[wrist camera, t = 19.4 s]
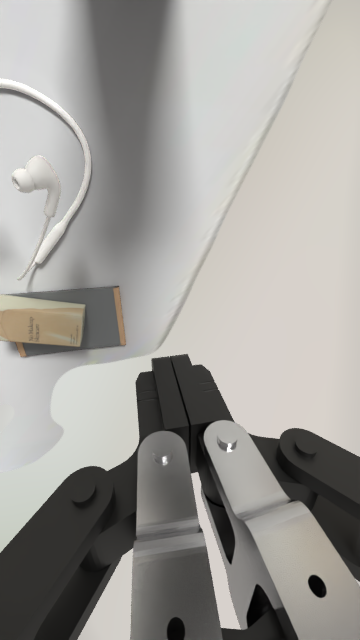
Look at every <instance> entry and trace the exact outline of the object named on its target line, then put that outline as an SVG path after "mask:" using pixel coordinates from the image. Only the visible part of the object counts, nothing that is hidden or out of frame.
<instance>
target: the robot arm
mask: <svg viewBox="0 0 360 640" xmlns="http://www.w3.org/2000/svg"><path fill="white" fill-rule="evenodd" d="M136 395H137V408H138V421H139V435H140V438H139V444H138V447H137V449H136V451H135V452H134V453H133V455H132V456H131V457H130V458H129V459H128V460H127V461H125V462H123V463H122V464H120V465H118V466H116V467H115V468H112V469H111V470H109V471H106V470H105V469H103V468H101V467H97V466H89V467H84V468H81V469H79V470H77V471H75V472H74V473H72V474H71V475H70V476H68V477H67V478H66V479H65V480H64V482H63V483H62V484H61V485H60V486H59V487H58V488H57V489H56V490H55V492H54V493H53V494H52V495H51V496H50V497H49V498H48V500H47V501H46V502H45V503H44V504H43V505H42V506H41V508H40V509H39V510H38V511H37V512H36V513H35V514H34V515H33V517H32V518H31V519H30V520H29V521H28V522H27V523H26V525H25V526H24V527H23V528H22V529H21V530H20V531H19V533H18V534H17V535H16V536H15V537H14V538H13V539H12V540H11V541H10V543H9V544H8V545H7V546H6V547H5V548H4V549H3V551H2V552H1V553H0V640H77V639H78V637H79V635H80V633H81V632H82V630H83V628H84V626H85V624H86V622H87V621H88V619H89V617H90V615H91V613H92V611H93V609H94V608H95V606H96V604H97V602H98V600H99V598H100V597H101V595H102V593H103V591H104V589H105V587H106V585H107V584H108V582H109V580H110V578H111V576H112V574H113V573H114V571H115V569H116V567H117V565H118V563H119V561H120V559H121V557H122V555H124V554H125V553H127V552H128V551H129V550H131V549H132V548H133V569H132V602H131V603H132V604H131V637H130V640H360V586H359V584H358V583H357V582H356V580H355V579H357V580H358V581H360V457H359V456H356V455H355V454H353V453H351V452H349V451H346V450H345V449H343V448H341V447H339V446H337V445H335V444H333V443H331V442H329V441H327V440H325V439H323V438H322V437H320V436H318V435H316V434H314V433H312V432H310V431H307V430H304V429H299V428H292V429H288V430H286V431H284V432H283V433H282V435H281V437H280V439H275V438H266V437H258V436H254V435H251V434H249V433H247V431H246V430H245V429H244V428H243V427H242V426H240V425H239V424H237V423H235V422H234V420H233V418H232V416H231V414H230V412H229V410H228V408H227V406H226V404H225V402H224V400H223V398H222V396H221V394H220V391H219V390H218V387H217V385H216V383H215V382H214V379H213V377H212V375H211V373H210V371H208V370H207V369H206V368H205V367H204V366H202V365H193V366H192V364H191V361H190V359H189V357H188V354H184V355H176V356H170V358H169V356H168V357H161V358H153V359H152V371H149V372H142V373H140V374H139V376H138V378H137V380H136ZM195 472H198V473H199V477H200V480H201V495H202V499H203V502H204V505H205V508H206V511H207V514H208V517H209V520H210V523H211V526H212V529H213V532H214V535H215V538H216V541H217V544H218V547H219V550H220V553H221V556H222V559H223V562H224V565H225V569H226V573H227V578H228V585H229V590H230V594H231V598H232V602H233V606H234V609H235V612H236V615H237V618H238V621H239V624H240V628H241V630H237V629H226V628H221V627H220V621H219V616H218V610H217V604H216V598H215V593H214V587H213V581H212V576H211V570H210V564H209V559H208V553H207V547H206V543H205V538H204V534H203V531H202V529H201V527H200V524H199V520H198V515H197V509H196V502H195V496H194V490H193V484H192V478H191V473H195Z"/></svg>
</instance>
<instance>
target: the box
mask: <svg viewBox="0 0 360 640" xmlns="http://www.w3.org/2000/svg"><path fill="white" fill-rule="evenodd" d="M85 306H86V305H85V304H76V303H68V302H59V301H51V300H42V299H34V298H26V297H18V296H9V295H2V294H1V295H0V341H10V342H23V343H36V344H50V345H62V346H75V347H80V344H81V341H82V337H83V329H84V318H85Z"/></svg>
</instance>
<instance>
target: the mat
mask: <svg viewBox="0 0 360 640" xmlns="http://www.w3.org/2000/svg"><path fill="white" fill-rule="evenodd" d="M6 295H9V296H18V297H26V298H34V299H42V300H51V301H59V302H68V303H76V304H85V305H86V306H85V318H84V329H83V337H82V341H81V344H80V347H75V346H62V345H50V344H36V343H23V342H16V345H17V348H18V351H19V353H20V356H21V357H24V356H29V355H38V354H47V353H56V352H65V351H73V350H82V349H91V348H100V347H109V346H117V345H126V341H125V333H124V325H123V316H122V308H121V300H120V292H119V286H114V287H101V288H87V289H74V290H60V291H47V292H33V293H20V294H6Z"/></svg>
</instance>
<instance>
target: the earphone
mask: <svg viewBox="0 0 360 640" xmlns="http://www.w3.org/2000/svg"><path fill="white" fill-rule="evenodd" d="M0 88H6V89H12V90H16V91H19V92H22V93H24V94H27V95H29V96H31V97H33V98H35V99H37V100H39V101H40V102H42V103H44V104H45V105H47V106H48V107H50V108H51V109H53V110H54V111H55V112H56V113H58V114H59V115H60V116H61V117H62V118H63V119H64V120H65V121H66V122H67V123H68V124H69V125H70V126H71V127H72V129H73V130H74V131H75V133H76V135H77V136H78V138H79V140H80V142H81V145H82V148H83V151H84V157H85V172H84V178H83V182H82V186H81V188H80V191H79V193H78V195H77V198H76V199H75V201H74V203H73V205H72V206H71V207H70V209H69V210H68V212H67V214H66V215H65V217H64V218H63V220H61V221H60V222H59V223H58V224H57V225H55V226H54V228H53V229H52V230H51V232H50V233H49V235H48V236H47V237H46V239H45V240H44V241H43V238H44V236H45V233H46V230H47V227H48V224H49V222H50V218H51V217H54V216H55V214H56V210H57V206H58V203H59V199H60V195H61V185H60V181H59V179H58V176H57V174H56V173H55V171H54V169H53V168H52V166H51V165H50V163H49V162H48V161H47V160H46V159H45V158H44V157H42V156H39V155H37V156H34V157H32V158H31V159H30V160H29V161H28V163H27V165H26V167H25V169H23V168H21V169H17V170H15V171H14V172H13V174H12V182H13V184H14V186H15V187H16V189H17V190H19V191H20V192H23V193H30V192H32V191H34V190H41V189H47V190H48V197H47V201H46V205H45V209H44V214H45V215H47V218H46V221H45V224H44V227H43V230H42V233H41V236H40V238H39V241H38V244H37V246H36V249H35V251H34V253H33V256H32V258H31V260H30V262H29V264H28V266H27V267H26V269H25V271H24V272H23V273H22V275H21V276H20V277H18V278H17V280H21V279H22V278H23V277H24V276H25V275H26V274H27V273H28V272H29V271H30V269H31V268H32V267H33V266H34V265H35V264H36V263H38V264H41V263H42V262H43V261H44V259H45V258H46V257H47V255H48V254H49V253H50V251H51V250H52V249H53V247H54V246H55V245H56V243H57V242H58V240H59V239H60V238H61V236H62V235H63V234H64V232H65V230H66V227H67V224H68V222H69V221H70V219H71V218H72V216H73V215H74V213H75V212H76V210H77V209H78V207H79V206H80V204H81V202H82V200H83V198H84V196H85V194H86V191H87V188H88V185H89V181H90V176H91V155H90V150H89V146H88V143H87V141H86V138H85V136H84V134H83V132H82V131H81V129H80V128H79V126H78V125H77V123H76V122H75V121H74V120H73V118H72V117H71V116H70V115H69V114H68V113H67V112H66V111H65V110H64V109H62V108H61V107H60V106H59V105H58V104H56V103H55V102H54V101H52V100H51V99H49V98H48V97H46V96H45V95H43V94H41V93H40V92H38V91H36V90H34V89H32V88H30V87H28V86H26V85H24V84H21V83H18V82H15V81H11V80H6V79H0ZM42 241H43V243H42Z"/></svg>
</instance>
